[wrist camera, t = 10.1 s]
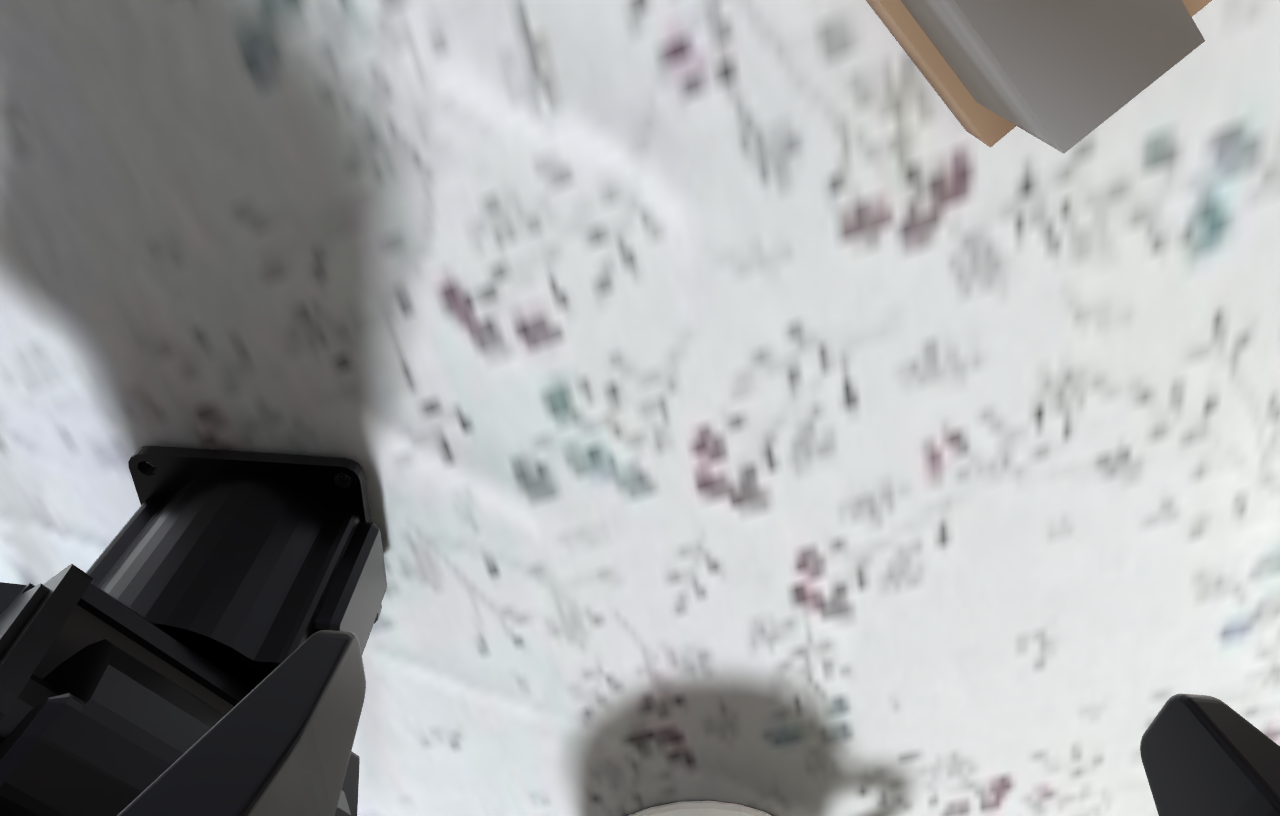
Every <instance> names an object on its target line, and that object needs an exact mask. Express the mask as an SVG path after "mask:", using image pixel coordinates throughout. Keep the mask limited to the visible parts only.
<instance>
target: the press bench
mask: <svg viewBox="0 0 1280 816" xmlns="http://www.w3.org/2000/svg"><path fill="white" fill-rule="evenodd" d="M866 1H867V2H868V4H869V5H870V6H871V7H872V9H873V10H874V11H875V13H876V14H877V15H878V17H879V18H880V19H881V20H882V22H883V23H884V24H885V26H886V27H887V28H888V30H889V31H890V32H891V34H892V35H893V36H894V37H895V39H896V40H897V41H898V43H899V44H900V45H901V47H902V48H903V49H904V50H905V52H906V53H907V54H908V56H909V57H910V58H911V60H912V61H913V62H914V63H915V65H916V66H917V67H918V69H919V70H920V71H921V73H922V74H923V75H924V76H925V78H926V79H927V80H928V82H929V83H930V84H931V86H932V87H933V88H934V89H935V91H936V92H937V93H938V95H939V96H940V97H941V99H942V100H943V101H944V103H945V104H946V105H947V106H948V108H949V109H950V110H951V112H952V113H953V114H954V116H955V117H956V118H957V119H958V121H959V122H960V123H961V125H962V126H963V127H964V129H965V130H966V131H967V132H969V133H970V134H972V135H973V136H975V137H976V138H978V139H979V140H980V141H982V142H983V143H985V144H986V145H988V146H989V147H992V146H993V145H994V144H995V143H996V142H998V141H999V140H1000V139H1001V138H1002V137H1004V136H1005V135H1006V134H1007V133H1008V132H1010V131H1011V130H1012V129H1013V128H1014V127H1016V126H1018V127H1020V128H1021V129H1023V130H1025V131H1026V132H1028V133H1030V134H1032V135H1033V136H1035V137H1037V138H1038V139H1040V140H1042V141H1043V142H1045V143H1047V144H1049V145H1050V146H1052V147H1054V148H1055V149H1057V150H1059V151H1061V152H1062V153H1065V152H1067V151H1068V150H1069V149H1070V148H1072V147H1073V146H1074V145H1075V144H1077V143H1078V142H1079V141H1080V140H1082V139H1083V138H1084V137H1085V136H1087V135H1088V134H1089V133H1090V132H1092V131H1093V130H1094V129H1095V128H1097V127H1098V126H1099V125H1100V124H1102V123H1103V122H1104V121H1105V120H1107V119H1108V118H1109V117H1110V116H1112V115H1113V114H1114V113H1115V112H1117V111H1118V110H1119V109H1120V108H1122V107H1123V106H1124V105H1125V104H1127V103H1128V102H1129V101H1130V100H1132V99H1133V98H1134V97H1135V96H1137V95H1138V94H1139V93H1140V92H1142V91H1143V90H1144V89H1145V88H1147V87H1148V86H1149V85H1150V84H1152V83H1153V82H1154V81H1155V80H1157V79H1158V78H1159V77H1160V76H1162V75H1163V74H1164V73H1165V72H1167V71H1168V70H1169V69H1170V68H1172V67H1173V66H1174V65H1175V64H1177V63H1178V62H1179V61H1180V60H1182V59H1183V58H1184V57H1185V56H1187V55H1188V54H1189V53H1190V52H1192V51H1193V50H1194V49H1195V48H1197V47H1198V46H1199V45H1200V44H1202V43H1203V42H1204V41H1205V40H1204V38H1203V36H1202V35H1201V33H1200V31H1199V29H1198V28H1197V26H1196V24H1195V23H1194V21H1193V19H1192V16H1193V15H1195V14H1196V13H1197V12H1198V11H1200V10H1201V9H1202V8H1203V7H1204V6H1206V5H1207V4H1208V3H1209V2H1211V1H1212V0H866Z"/></svg>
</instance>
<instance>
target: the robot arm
mask: <svg viewBox="0 0 1280 816" xmlns="http://www.w3.org/2000/svg"><path fill="white" fill-rule="evenodd" d="M147 462H150V463H151V464H153V465H154V466H155V467H153V466H151V465H149V464H148V463H147ZM129 469H130V472H131V475H132V478H133V481H134V484H135V488H136V491H137V494H138V497H139V500H140V503H141V507H140V508H139V509H138V510H137V512H136V513H135V514H134V515H133V516H132V518H131V519H130V520H129V521H128V522H127V524H126V525H125V526H124V527H123V529H122V530H121V531H120V532H119V533H118V535H117V536H116V537H115V538H114V539H113V541H112V542H111V543H110V544H109V545H108V547H107V548H106V549H105V550H104V552H103V553H102V554H101V555H100V556H99V558H98V559H97V560H96V561H95V562H94V564H93V565H92V566H91V567H90V569H89V570H88V571H87V572H86V573H85V572H83V571H82V570H80V569H79V568H77V567H76V566H74V565H73V564H71V565H69V566H68V567H67V568H65V569H64V570H62V571H61V572H60V573H58V574H57V575H56V576H54V577H53V578H52V579H50V580H49V581H47V582H46V583H45V584H43V585H42V584H39V585H37V586H34V585H33V584H31V583H29V584H28V585H19V584H10V583H1V582H0V816H357V804H358V781H359V756H358V755H356V754H355V753H353V752H352V751H351V750H352V746H353V742H354V738H355V734H356V730H357V726H358V722H359V719H360V715H361V711H362V707H363V702H364V697H365V689H366V680H365V673H364V667H363V661H362V654H363V651H364V648H365V646H366V643H367V640H368V638H369V635H370V632H371V629H372V627H373V624H374V623H375V622H376V621H377V620H378V618H379V615H380V612H381V608H382V605H381V602H382V599H383V597H384V594H385V591H386V588H387V581H386V573H385V565H384V557H383V548H382V540H381V532H380V529H379V528H378V527H377V525H376V524H375V523H373V522H371V520H370V513H369V505H368V497H367V490H366V482H365V474H364V471H363V468H362V467H361V466H360V465H359V464H358V463H357V462H355V461H353V460H350V459H346V458H332V457H316V456H300V455H285V454H269V453H253V452H237V451H221V450H206V449H190V448H174V447H158V446H145V447H142V448H140V449H138V450H137V451H136V453H135V454H134V455H133V456H132V457H131V458H130V460H129ZM341 473H342V474H346V475H348V476H349V477H350V478H351V479H345V478H343V477H341V476H340V475H339V474H341ZM1140 751H1141V758H1142V762H1143V765H1144V769H1145V772H1146V775H1147V778H1148V782H1149V785H1150V788H1151V791H1152V795H1153V798H1154V801H1155V804H1156V808H1157V811H1158V814H1159V816H1280V746H1278V745H1277V744H1276V743H1275V742H1273V741H1272V740H1271V739H1270V738H1268V737H1267V736H1266V735H1265V734H1263V733H1262V732H1261V731H1259V730H1258V729H1257V728H1256V727H1254V726H1253V725H1252V724H1251V723H1249V722H1248V721H1247V720H1245V719H1244V718H1243V717H1242V716H1240V715H1239V714H1238V713H1237V712H1235V711H1234V710H1233V709H1231V708H1230V707H1229V706H1228V705H1226V704H1225V703H1224V702H1222V701H1221V700H1219V699H1217V698H1214V697H1211V696H1206V695H1193V694H1176V695H1174V696H1172V697H1171V698H1170V699H1169V700H1168V701H1167V702H1166V703H1165V705H1164V706H1163V708H1162V709H1161V710H1160V712H1159V713H1158V715H1157V716H1156V717H1155V719H1154V720H1153V722H1152V723H1151V724H1150V726H1149V727H1148V729H1147V730H1146V731H1145V733H1144V734H1143V736H1142V740H1141V746H1140Z"/></svg>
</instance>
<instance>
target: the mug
mask: <svg viewBox="0 0 1280 816" xmlns="http://www.w3.org/2000/svg"><path fill="white" fill-rule="evenodd" d="M629 816H772V815H770V814H768V813H766V812H764V811H761V810H757V809H754V808H751V807H747V806H744V805H740V804H734V803H726V802H718V801H684V802H675V803H670V804H665V805H659V806H654V807H650V808H647V809H644V810H642V811H639V812H637V813H634V814H631V815H629Z"/></svg>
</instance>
